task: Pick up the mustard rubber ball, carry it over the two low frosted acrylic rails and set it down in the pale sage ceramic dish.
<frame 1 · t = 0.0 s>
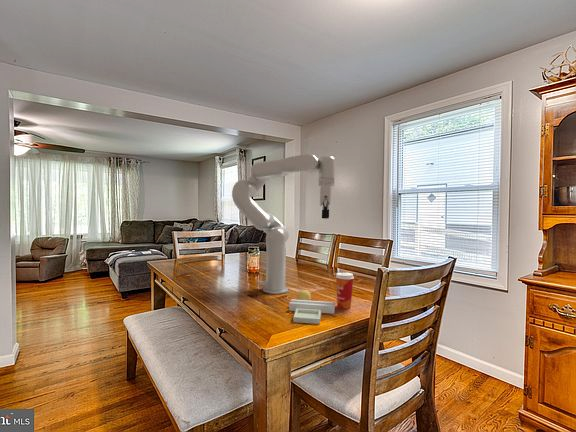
hand: (325, 218, 145), 37 cm above the table, tool pointing down, fingers open, 9 cm apart
ball: (304, 296, 129), point 3 cm above the table
dish: (307, 318, 113), on the table
rails: (312, 309, 122), on the table
paper cup: (343, 307, 126), on the table
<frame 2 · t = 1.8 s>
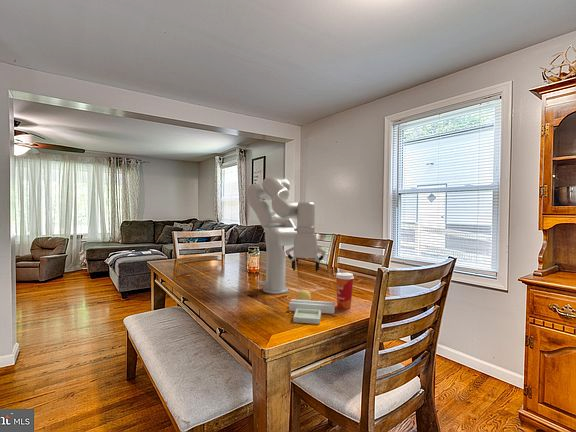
hand: (305, 270, 129), 15 cm above the table, tool pointing down, fingers open, 9 cm apart
nothing on the table moved.
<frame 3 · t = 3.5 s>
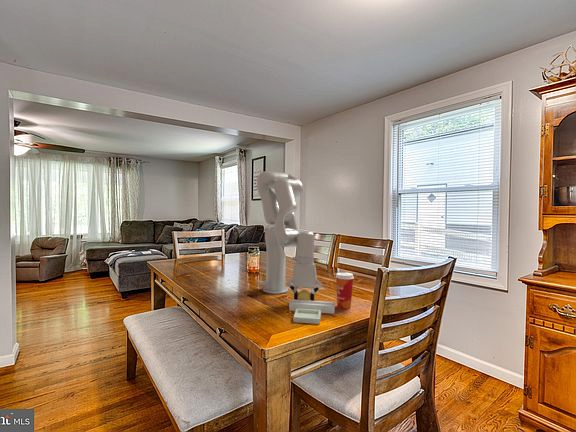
hand: (304, 301, 129), 1 cm above the table, tool pointing down, fingers closed on ball, 5 cm apart
ball: (304, 297, 129), point 3 cm above the table, touching gripper
everything else where it was.
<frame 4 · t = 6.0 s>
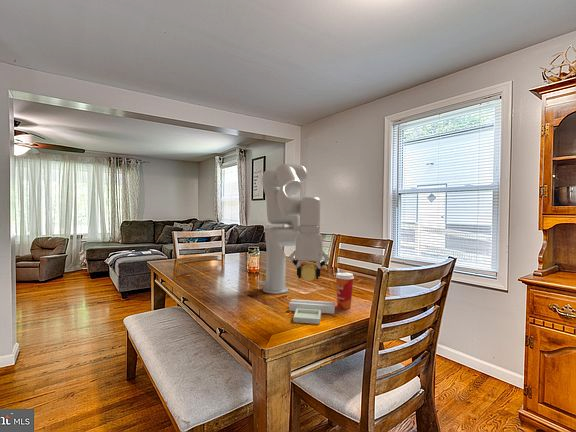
hand: (308, 277, 112), 15 cm above the table, tool pointing down, fingers closed on ball, 5 cm apart
ball: (308, 272, 112), point 17 cm above the table, touching gripper
everything else where it was.
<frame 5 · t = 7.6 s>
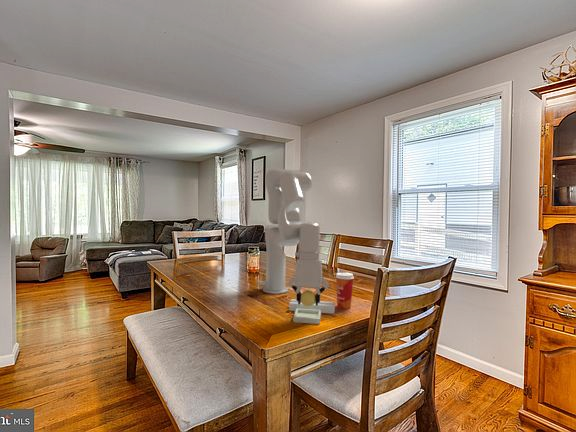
hand: (308, 303, 112), 6 cm above the table, tool pointing down, fingers closed on ball, 5 cm apart
ball: (308, 298, 112), point 8 cm above the table, touching gripper
everything else where it was.
when the fingers open (3 cm above the table, at t = 8.7 s): ball drops 1 cm, resting on dish.
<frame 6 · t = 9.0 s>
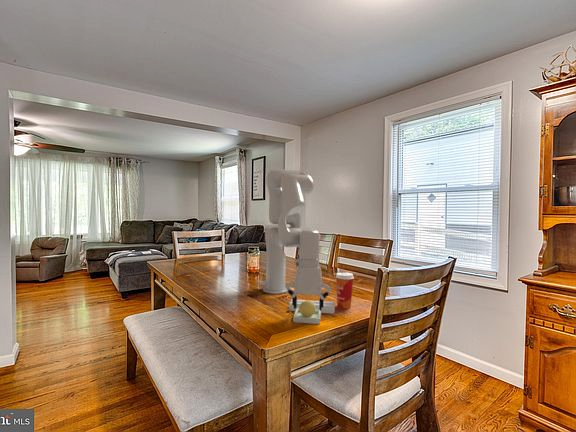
hand: (307, 308, 113), 4 cm above the table, tool pointing down, fingers open, 9 cm apart
ball: (307, 308, 113), point 4 cm above the table, touching dish
everything else where it was.
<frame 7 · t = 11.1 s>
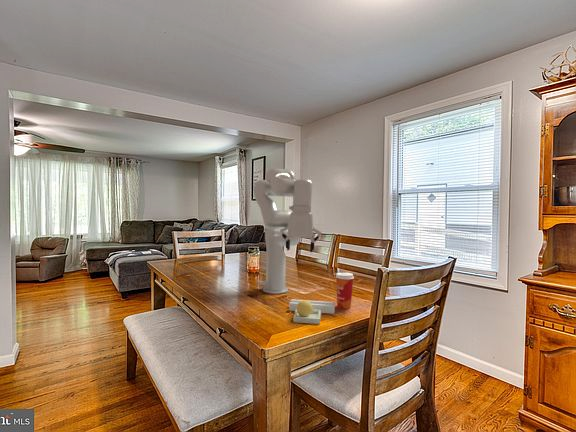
hand: (299, 250, 125), 24 cm above the table, tool pointing down, fingers open, 9 cm apart
ball: (304, 308, 113), point 4 cm above the table, tilted 24°, touching dish
everything else where it was.
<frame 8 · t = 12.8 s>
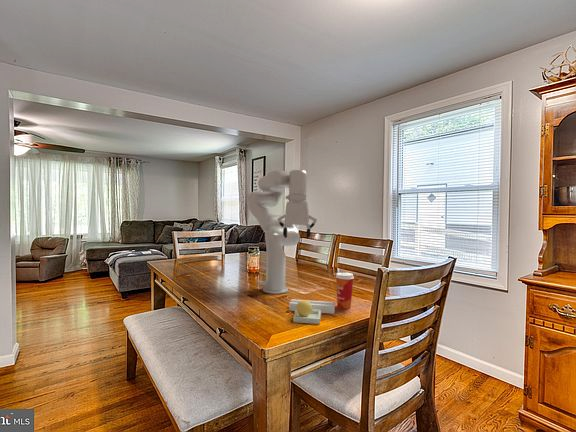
hand: (296, 237, 131), 28 cm above the table, tool pointing down, fingers open, 9 cm apart
nothing on the table moved.
at the end: ball inside the target area on the dish (1.5 cm from its centre), point 3.6 cm above the dish's base; the gripper is holding nothing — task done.
